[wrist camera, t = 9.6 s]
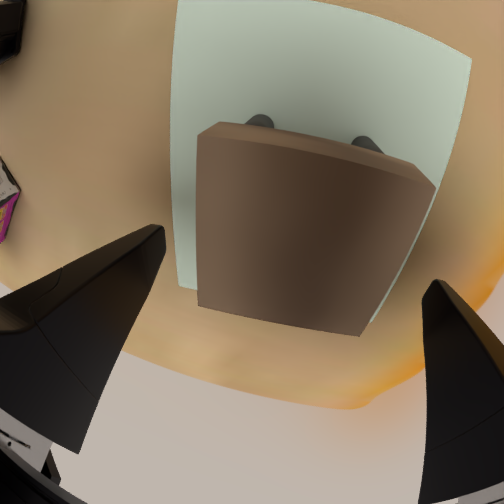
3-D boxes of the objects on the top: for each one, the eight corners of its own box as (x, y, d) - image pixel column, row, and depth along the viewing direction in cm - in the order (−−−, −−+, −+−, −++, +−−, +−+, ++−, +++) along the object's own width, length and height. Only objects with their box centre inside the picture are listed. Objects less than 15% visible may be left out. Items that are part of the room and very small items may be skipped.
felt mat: (181, 280, 20) (178, 285, 19) (183, 0, 8) (178, -2, 8) (370, 316, 18) (371, 322, 18) (466, 59, 7) (471, 59, 7)
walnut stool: (233, 225, 15) (197, 305, 11) (244, 106, 11) (197, 135, 7) (348, 248, 15) (359, 336, 10) (384, 136, 11) (436, 188, 6)
